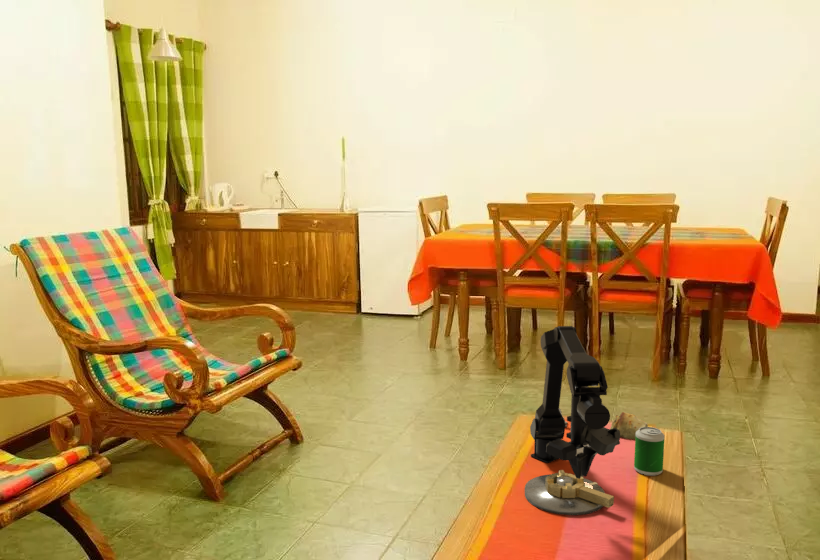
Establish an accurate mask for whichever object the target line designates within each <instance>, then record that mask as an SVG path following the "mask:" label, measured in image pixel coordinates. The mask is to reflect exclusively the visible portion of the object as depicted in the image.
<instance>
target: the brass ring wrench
mask: <svg viewBox="0 0 820 560" xmlns="http://www.w3.org/2000/svg"><path fill="white" fill-rule="evenodd" d="M548 475H549V474H548ZM561 476H566V477H570V478H572V479H573V486H571V484H570V483H565V486H561V485H558V484H557V478H558V477H561ZM584 478H585V477H584V476H583V477H581V478H580V479H578V478H576V476H575V474H572V473H568V472H565V470H564V469H559V470H558V472H555V473H551V475H549V476H547V477H546V480H545V487H546V490H547V492H548V493H549V494H551V495H554V496H557V497H562V498H575V497H580V498H583V499H585V500H588V501H591V502H594V503H596V504H599V505H602V506H603V507H605V508H608V509H610V508H611V507H613V506H614V503H615V501H614V500H615V496H614V495H611V494H609V493H606V492H605V493H603V492H600V491H597V490H594V489H591V488H588V487H585V483H584Z"/></svg>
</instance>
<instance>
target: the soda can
mask: <svg viewBox="0 0 820 560" xmlns="http://www.w3.org/2000/svg"><path fill="white" fill-rule="evenodd" d="M634 440H635V441H634V457H633V459H634V463H633V467H634V470H635V471H636V472H638V473H639V474H641V475H643V474H644V475H643V476H647V477H649V476H650V477H654V476H658V475H661V474H662V473H663V470H664V454H665V453H664V451H665V434H664V433H663V432H662V430H661V429H658V428H657V427H653V426H648V427H642V428H640V429H639V430H638V431H636V436H635V439H634Z"/></svg>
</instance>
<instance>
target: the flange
mask: <svg viewBox="0 0 820 560" xmlns="http://www.w3.org/2000/svg"><path fill="white" fill-rule="evenodd" d="M551 474H552V473H551ZM551 474H550V473H549V474H543V475H539V476H535V477H534V478H531V479H529V480H528V481H527V482H526V483H525V486H524V497H525V499H526V500H527V502H528V503H530V504H531V505H532V506H533V507H536V508H537V509H540V510H542V511H545V512H548V513H551V514H555V515H562V516H563V515H564V516H585V515H590V514H593V513H596V512H598V511H600V510H601V509H602V508H603V507H604V506H602V505H599V504H596V503H594V502H591V501H588V500H585V499H583V498H580V497H575V498H562V497H557V496H554V495H551V494H549V493H548V492H547V490H546V487H545V480H546V477H547V476H549V475H551ZM581 477H583V478H584V482H587V483H589V484H590V485H592V486H593V489H594V490H597V491H600V492H603V493H606V492H605V490H604V489H603V487H602V486H600V485H599V483H598V482H596V481H592V480H590V479H588V478H585V477H584V476H583V475H582V473H581ZM565 483H570V484H571V486H573V479H572V478H570V477H566V476H561V477H558V478H557V484H558V485H561V486H565Z"/></svg>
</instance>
